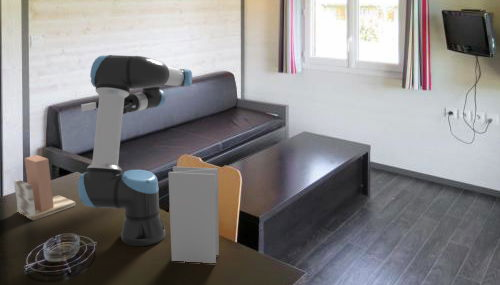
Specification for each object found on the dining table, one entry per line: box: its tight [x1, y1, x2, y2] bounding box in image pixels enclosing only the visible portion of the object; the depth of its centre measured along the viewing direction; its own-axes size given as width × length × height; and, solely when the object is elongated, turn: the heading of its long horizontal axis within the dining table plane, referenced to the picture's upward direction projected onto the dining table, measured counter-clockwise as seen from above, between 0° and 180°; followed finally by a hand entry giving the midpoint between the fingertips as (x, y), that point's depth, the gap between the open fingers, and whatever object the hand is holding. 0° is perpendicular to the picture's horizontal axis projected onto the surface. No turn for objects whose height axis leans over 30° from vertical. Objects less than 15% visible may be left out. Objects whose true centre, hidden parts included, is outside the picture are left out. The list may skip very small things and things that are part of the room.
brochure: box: [168, 166, 220, 264], centre depth 148 cm, size 14×6×30 cm, turn 84°
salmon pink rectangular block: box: [24, 154, 54, 211], centre depth 183 cm, size 8×5×20 cm, turn 54°
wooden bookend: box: [13, 178, 77, 221], centre depth 186 cm, size 12×18×14 cm, turn 144°
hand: (91, 110), depth 187 cm, fingers open, 13 cm apart
